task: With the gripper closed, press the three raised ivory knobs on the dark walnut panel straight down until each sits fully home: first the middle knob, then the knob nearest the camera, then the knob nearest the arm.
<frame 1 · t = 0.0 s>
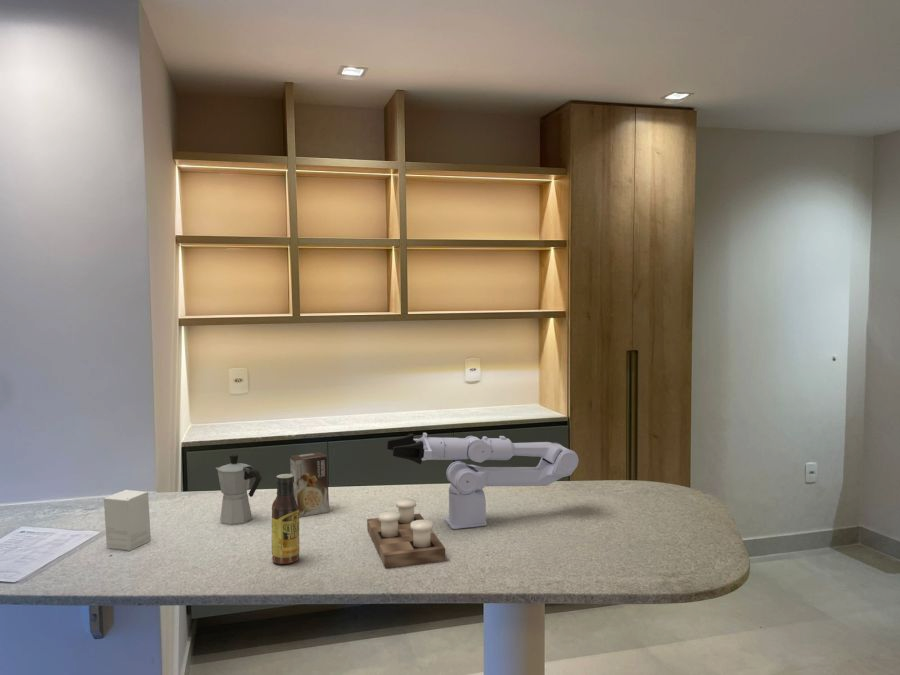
hand: (390, 448, 175), 22 cm above the table, tool horizontal, fingers open, 7 cm apart
coffee maker: (239, 520, 187), on the table
supplement box: (129, 545, 170), on the table
sauce bottle: (286, 561, 159), on the table
knob middle: (389, 524, 166), point 5 cm above the table, slide at 2.5 cm
knob arm side: (406, 511, 176), point 5 cm above the table, slide at 2.5 cm
knob camera side: (421, 534, 160), point 5 cm above the table, slide at 2.5 cm
coffee box: (310, 512, 193), on the table
knob panel: (404, 544, 168), on the table
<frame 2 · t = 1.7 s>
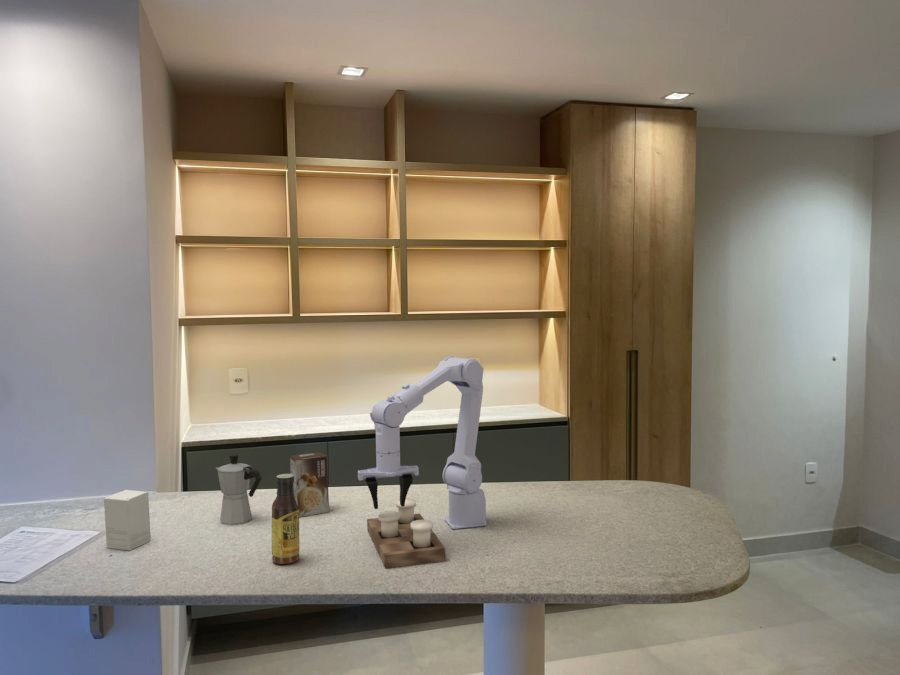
hand: (389, 506, 166), 10 cm above the table, tool pointing down, fingers open, 6 cm apart
nothing on the table moved.
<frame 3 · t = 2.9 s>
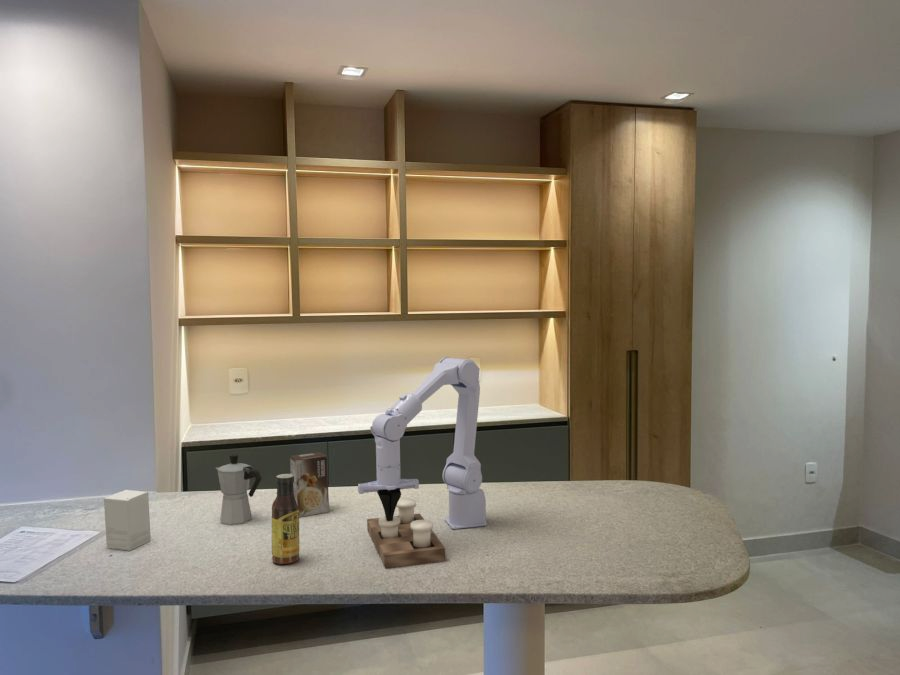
hand: (389, 519, 166), 7 cm above the table, tool pointing down, fingers closed, pressing on knob middle
knob middle: (389, 529, 166), point 4 cm above the table, slide at 1.2 cm, touching gripper
everything else where it was.
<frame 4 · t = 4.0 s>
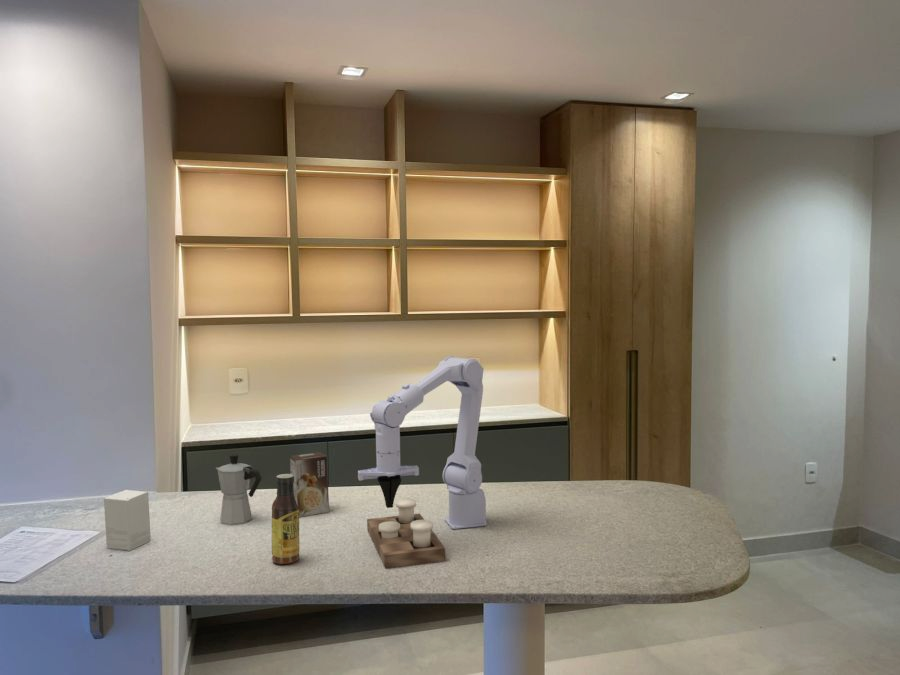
hand: (389, 506, 166), 10 cm above the table, tool pointing down, fingers closed
knob middle: (389, 535, 167), point 3 cm above the table, slide at -0.1 cm
everything else where it was.
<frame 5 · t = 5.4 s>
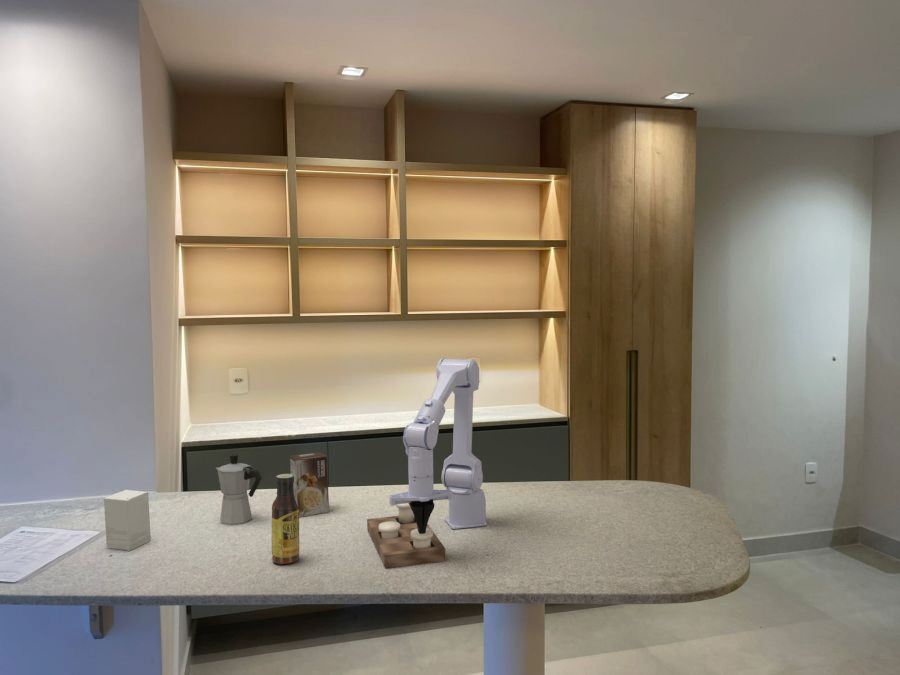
hand: (421, 532, 160), 6 cm above the table, tool pointing down, fingers closed, pressing on knob camera side
knob camera side: (421, 542, 160), point 3 cm above the table, slide at 0.5 cm, touching gripper
everything else where it was.
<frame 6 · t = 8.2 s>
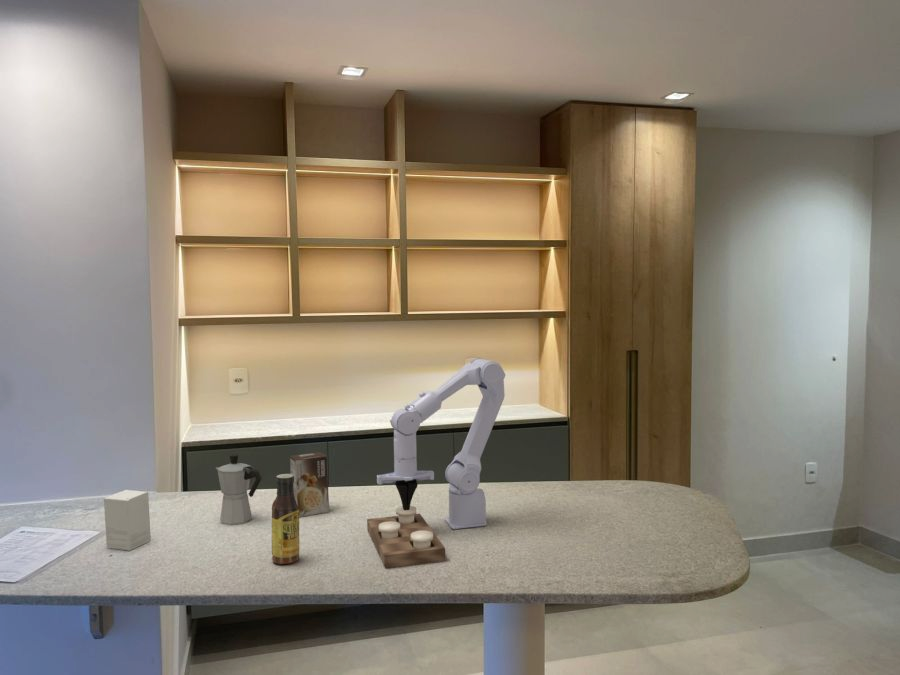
hand: (406, 509, 176), 6 cm above the table, tool pointing down, fingers closed, pressing on knob arm side
knob arm side: (406, 518, 176), point 3 cm above the table, slide at 0.6 cm, touching gripper
knob camera side: (422, 544, 160), point 3 cm above the table, slide at -0.1 cm
everything else where it was.
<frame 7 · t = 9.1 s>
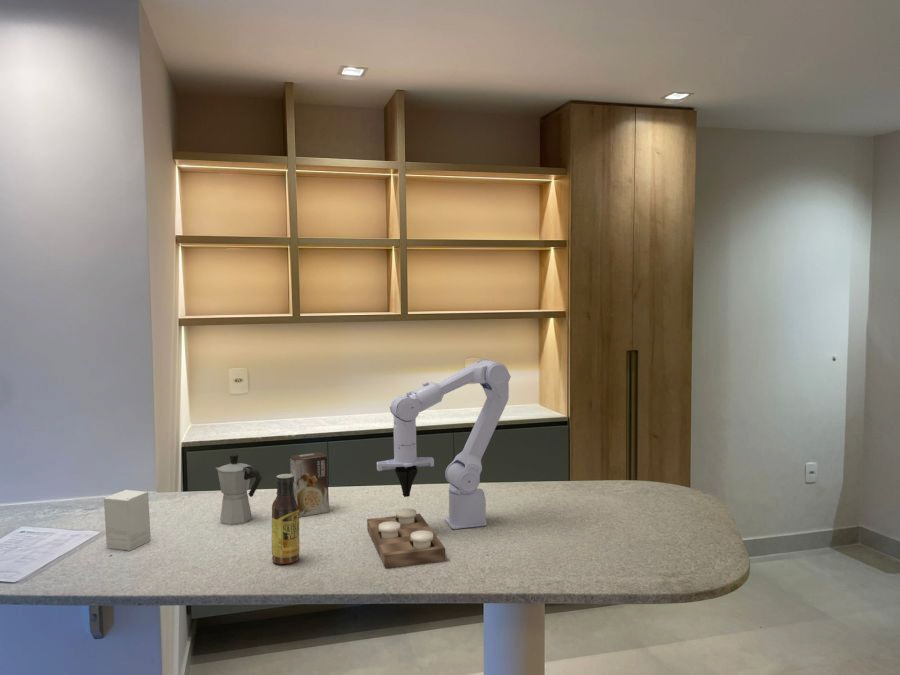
hand: (406, 495, 176), 9 cm above the table, tool pointing down, fingers closed
knob arm side: (406, 521, 176), point 3 cm above the table, slide at -0.1 cm
everything else where it was.
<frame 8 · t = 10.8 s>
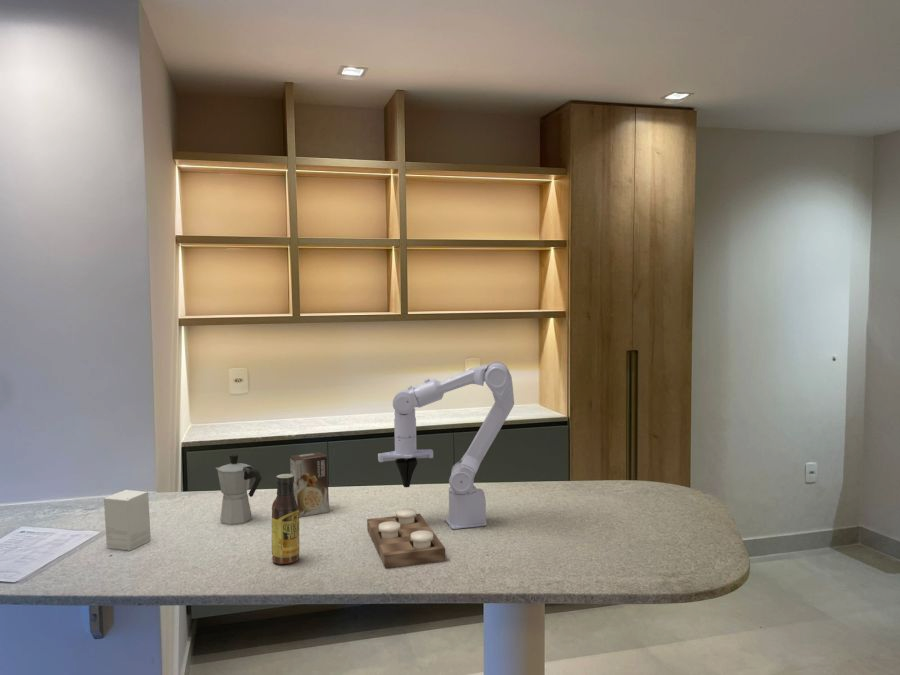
hand: (406, 486, 182), 10 cm above the table, tool pointing down, fingers closed
nothing on the table moved.
at the end: knob middle slide at -0.1 cm; knob camera side slide at -0.1 cm; knob arm side slide at -0.1 cm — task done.
